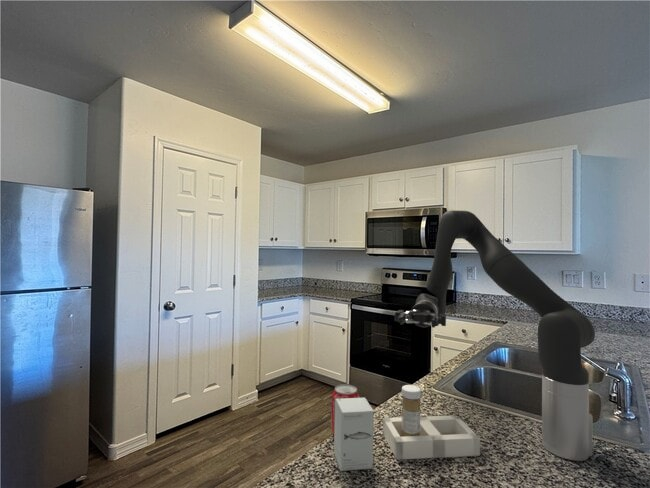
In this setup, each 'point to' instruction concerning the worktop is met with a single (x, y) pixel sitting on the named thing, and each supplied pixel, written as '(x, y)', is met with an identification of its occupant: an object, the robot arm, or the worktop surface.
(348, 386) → the soda can
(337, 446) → the supplement box
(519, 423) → the worktop surface
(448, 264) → the robot arm
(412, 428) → the sprinkles bottle
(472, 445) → the divided compartment tray
